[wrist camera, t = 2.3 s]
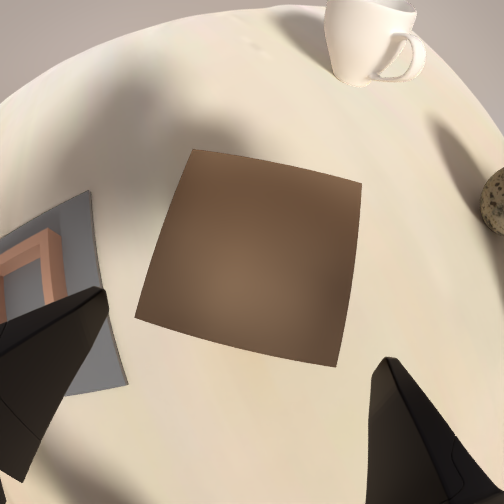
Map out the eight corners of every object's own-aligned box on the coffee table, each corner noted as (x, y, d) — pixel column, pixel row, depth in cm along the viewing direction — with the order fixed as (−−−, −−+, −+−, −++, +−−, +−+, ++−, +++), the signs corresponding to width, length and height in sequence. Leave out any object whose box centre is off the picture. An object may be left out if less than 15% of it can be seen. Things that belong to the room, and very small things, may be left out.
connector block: (284, 348, 17) (335, 367, 6) (209, 330, 18) (134, 317, 6) (300, 275, 19) (361, 183, 7) (228, 259, 19) (192, 148, 8)
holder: (128, 384, 17) (112, 389, 14) (4, 402, 15) (-12, 404, 13) (90, 192, 21) (77, 178, 19) (-15, 252, 20) (-29, 245, 17)
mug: (302, 58, 26) (314, -25, 15) (361, 56, 27) (381, -15, 16) (356, 128, 23) (396, 28, 12) (417, 121, 23) (462, 44, 13)
